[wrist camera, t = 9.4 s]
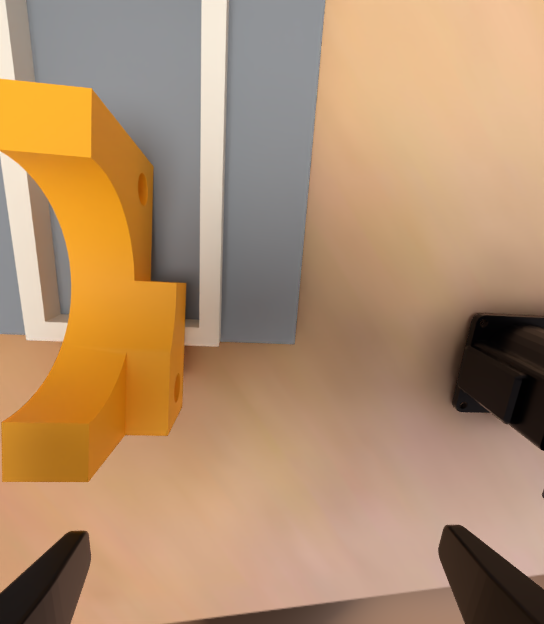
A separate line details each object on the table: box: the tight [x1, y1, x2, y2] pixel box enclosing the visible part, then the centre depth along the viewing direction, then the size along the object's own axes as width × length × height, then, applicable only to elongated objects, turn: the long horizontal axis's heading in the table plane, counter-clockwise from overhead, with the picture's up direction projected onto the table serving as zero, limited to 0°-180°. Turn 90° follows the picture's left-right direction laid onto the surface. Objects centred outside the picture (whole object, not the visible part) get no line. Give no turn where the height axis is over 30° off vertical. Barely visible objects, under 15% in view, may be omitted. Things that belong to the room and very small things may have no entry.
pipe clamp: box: [0, 79, 186, 482], centre depth 13 cm, size 12×4×6 cm, turn 176°
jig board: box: [0, 0, 325, 347], centre depth 15 cm, size 18×18×2 cm
